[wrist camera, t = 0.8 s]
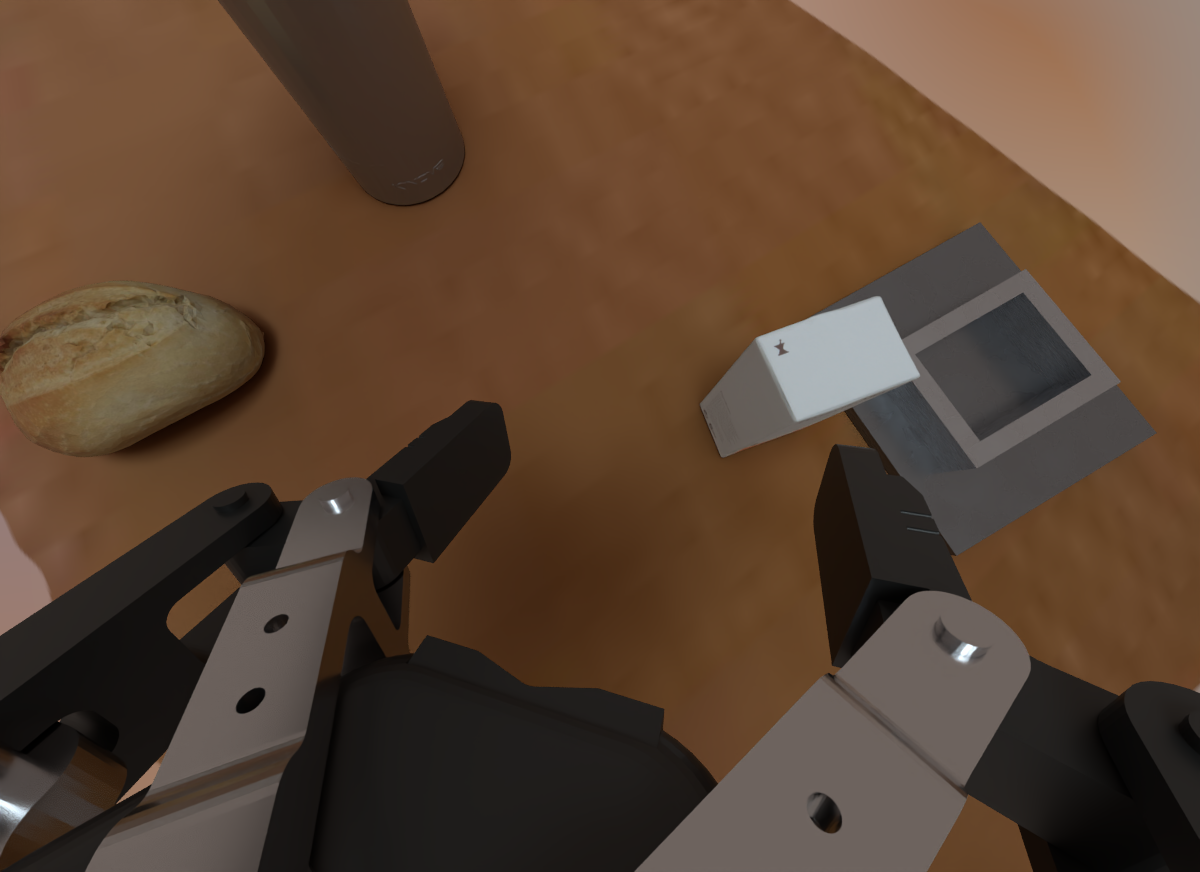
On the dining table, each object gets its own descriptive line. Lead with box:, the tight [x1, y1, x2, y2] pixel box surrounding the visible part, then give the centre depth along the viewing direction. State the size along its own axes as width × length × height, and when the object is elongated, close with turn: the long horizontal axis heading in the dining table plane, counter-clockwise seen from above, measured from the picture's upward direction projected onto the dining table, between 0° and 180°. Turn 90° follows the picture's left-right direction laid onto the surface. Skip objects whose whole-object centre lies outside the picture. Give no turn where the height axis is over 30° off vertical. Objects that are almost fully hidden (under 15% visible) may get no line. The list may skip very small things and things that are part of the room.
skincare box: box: [700, 296, 920, 457], centre depth 24 cm, size 6×4×12 cm
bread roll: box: [0, 281, 265, 457], centre depth 28 cm, size 10×15×8 cm, turn 124°
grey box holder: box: [809, 223, 1156, 556], centre depth 28 cm, size 18×16×4 cm
